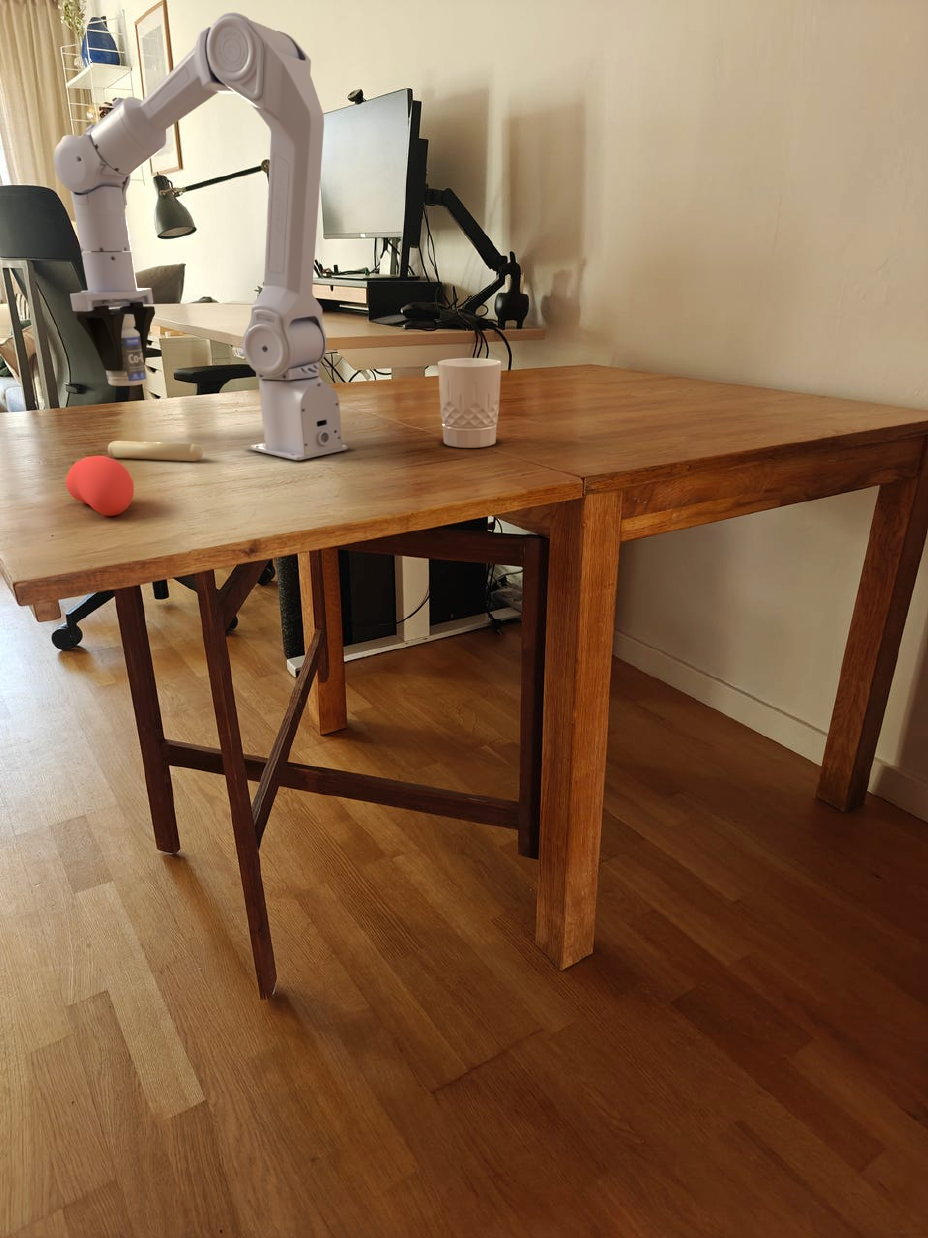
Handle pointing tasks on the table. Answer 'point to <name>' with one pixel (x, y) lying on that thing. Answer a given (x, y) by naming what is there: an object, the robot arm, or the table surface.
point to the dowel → (155, 450)
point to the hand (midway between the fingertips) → (125, 367)
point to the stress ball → (101, 484)
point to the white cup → (469, 401)
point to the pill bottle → (129, 357)
